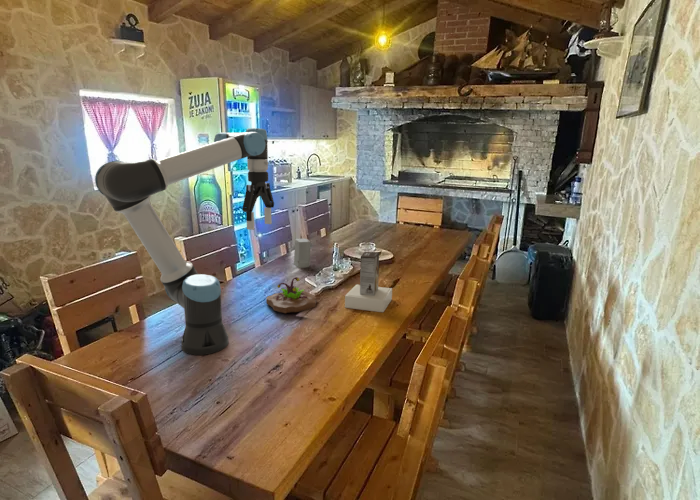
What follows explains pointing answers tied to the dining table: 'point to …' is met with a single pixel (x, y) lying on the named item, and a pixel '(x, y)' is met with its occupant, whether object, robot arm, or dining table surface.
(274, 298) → the plant
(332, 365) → the dining table surface
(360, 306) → the riser
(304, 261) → the skincare box
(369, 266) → the coffee box
